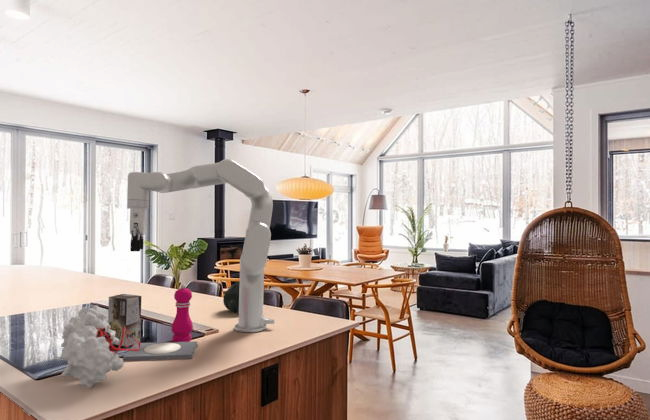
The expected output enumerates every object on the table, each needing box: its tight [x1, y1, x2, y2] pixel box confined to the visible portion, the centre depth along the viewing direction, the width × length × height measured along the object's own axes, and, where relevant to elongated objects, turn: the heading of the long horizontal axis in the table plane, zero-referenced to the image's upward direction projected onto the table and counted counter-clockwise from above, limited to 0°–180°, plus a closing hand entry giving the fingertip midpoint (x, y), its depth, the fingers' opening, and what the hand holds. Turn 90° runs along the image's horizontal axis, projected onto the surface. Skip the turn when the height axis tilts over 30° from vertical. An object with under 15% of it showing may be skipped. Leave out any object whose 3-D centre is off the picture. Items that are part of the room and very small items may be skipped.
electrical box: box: [107, 293, 142, 348], centre depth 146 cm, size 9×6×16 cm
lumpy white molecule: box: [60, 304, 142, 389], centre depth 117 cm, size 20×18×25 cm
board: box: [122, 340, 198, 362], centre depth 137 cm, size 20×14×1 cm
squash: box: [223, 281, 240, 314], centre depth 198 cm, size 14×15×15 cm
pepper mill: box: [170, 283, 194, 342], centre depth 150 cm, size 7×7×20 cm
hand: (136, 250), depth 160 cm, fingers open, 9 cm apart
